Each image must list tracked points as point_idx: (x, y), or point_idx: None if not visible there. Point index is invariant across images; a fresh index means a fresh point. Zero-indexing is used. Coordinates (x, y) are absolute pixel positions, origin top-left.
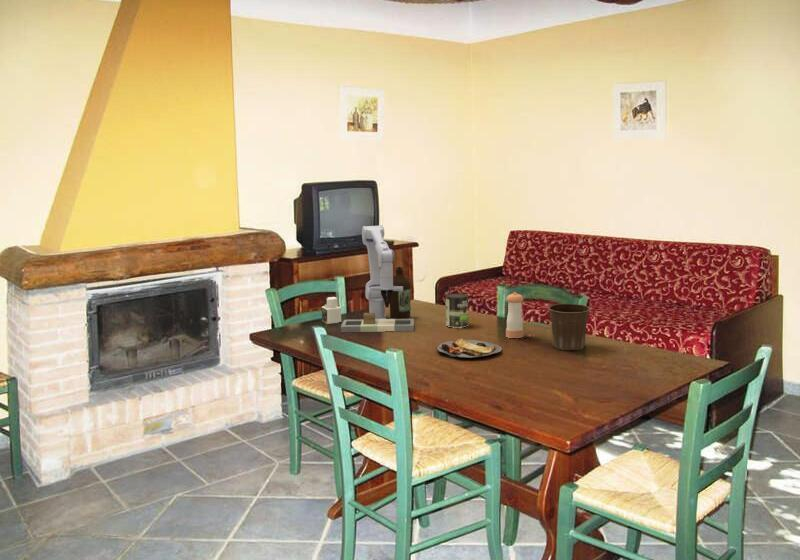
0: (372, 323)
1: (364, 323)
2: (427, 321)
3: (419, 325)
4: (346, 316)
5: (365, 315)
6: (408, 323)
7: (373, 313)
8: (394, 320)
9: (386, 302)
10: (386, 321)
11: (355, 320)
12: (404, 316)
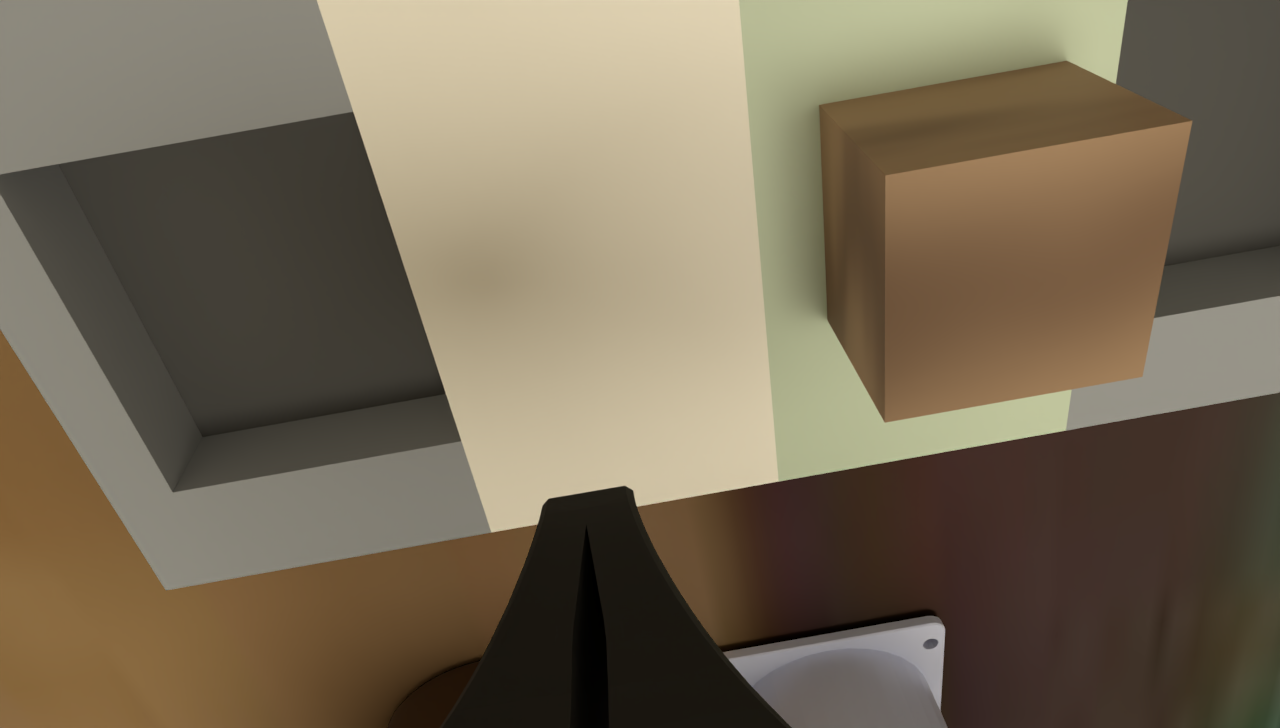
0: (870, 98)
1: (1050, 68)
2: (69, 678)
3: (59, 461)
4: (1208, 721)
5: (1127, 131)
6: (230, 447)
7: (918, 354)
8: (471, 436)
9: (601, 582)
10: (606, 346)
11: (1199, 344)
12: (423, 725)
